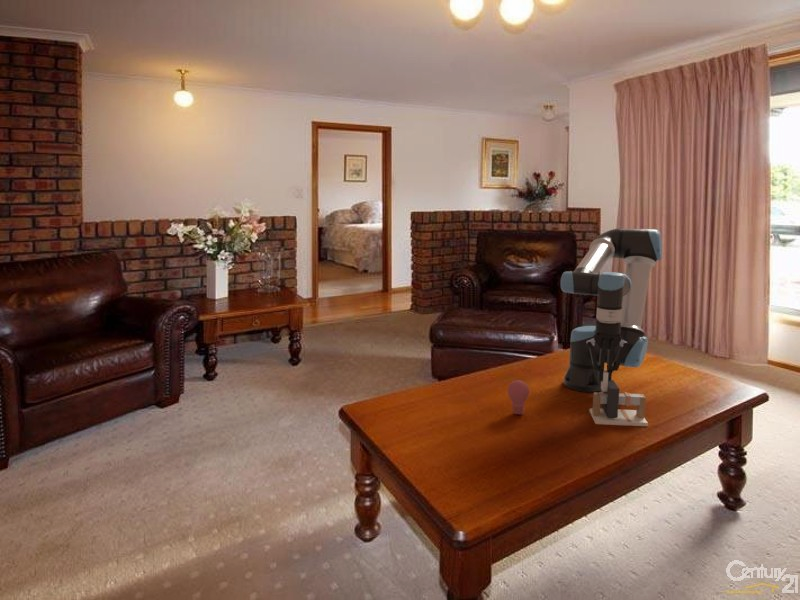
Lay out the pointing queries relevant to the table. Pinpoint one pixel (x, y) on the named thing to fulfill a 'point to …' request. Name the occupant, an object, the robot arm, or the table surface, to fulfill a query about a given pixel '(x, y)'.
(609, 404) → the dark grey block
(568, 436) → the table surface
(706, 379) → the table surface
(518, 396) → the light bulb
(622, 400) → the pipe rig
